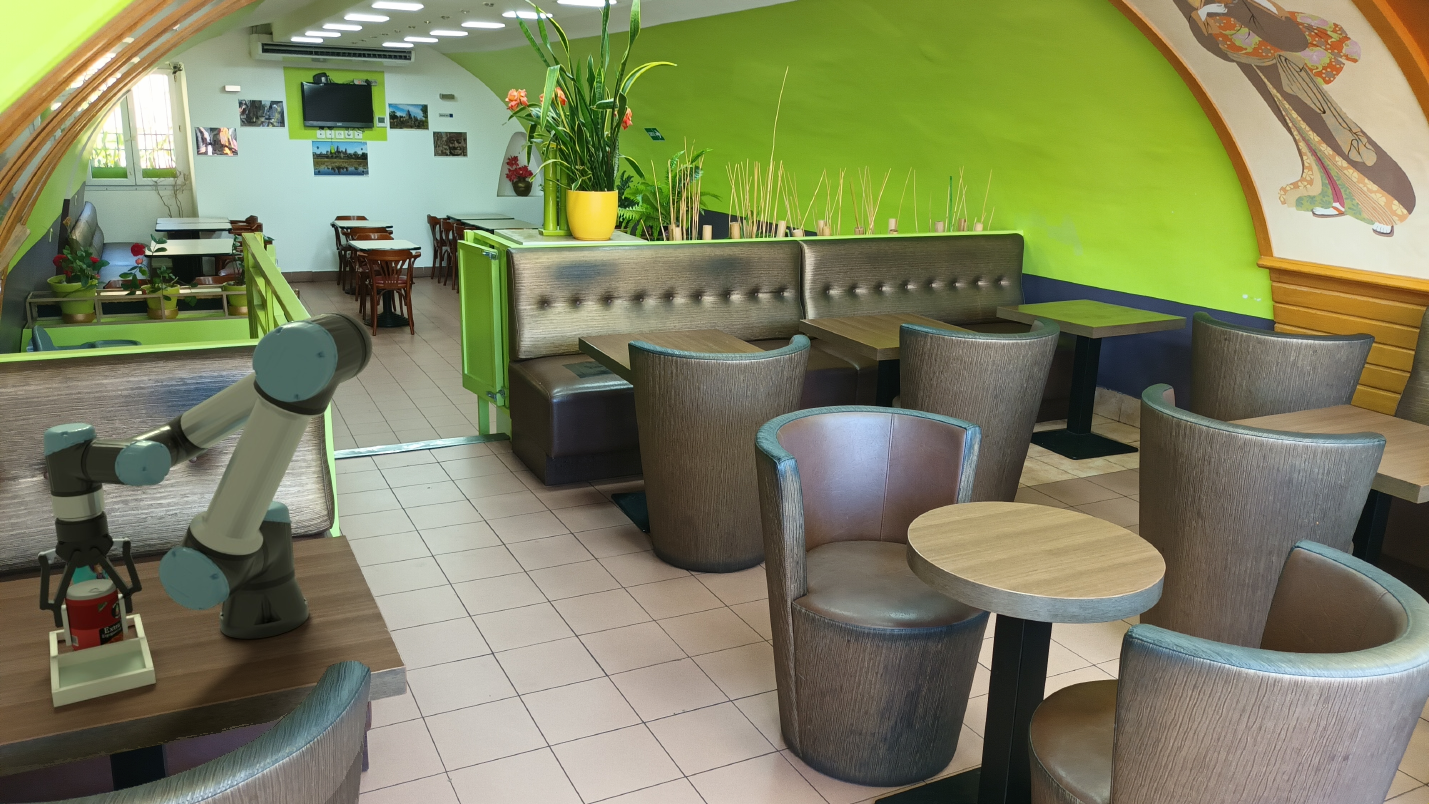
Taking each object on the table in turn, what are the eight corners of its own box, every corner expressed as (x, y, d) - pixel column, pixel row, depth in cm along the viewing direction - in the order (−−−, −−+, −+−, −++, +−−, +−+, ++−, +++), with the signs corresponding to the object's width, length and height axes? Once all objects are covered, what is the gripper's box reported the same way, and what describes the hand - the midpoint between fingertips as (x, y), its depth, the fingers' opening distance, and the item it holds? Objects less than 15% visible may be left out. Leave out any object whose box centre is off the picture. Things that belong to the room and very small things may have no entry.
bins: (155, 682, 163) (154, 668, 162) (54, 707, 155) (51, 692, 155) (140, 621, 185) (138, 608, 184) (50, 639, 177) (48, 627, 176)
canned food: (111, 655, 172) (103, 596, 169) (62, 656, 171) (53, 597, 169) (132, 634, 179) (125, 578, 177) (86, 635, 179) (78, 579, 176)
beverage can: (94, 609, 189) (84, 535, 186) (69, 606, 190) (58, 533, 187) (118, 597, 195) (108, 525, 191) (93, 594, 196) (82, 522, 192)
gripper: (147, 497, 178) (161, 614, 184) (6, 518, 167) (26, 642, 172) (151, 509, 172) (166, 630, 178) (6, 532, 161) (26, 660, 166)
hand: (97, 636), depth 175 cm, fingers closed on canned food, 8 cm apart
